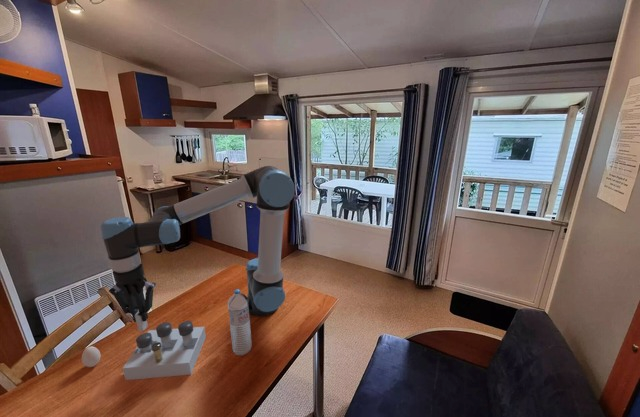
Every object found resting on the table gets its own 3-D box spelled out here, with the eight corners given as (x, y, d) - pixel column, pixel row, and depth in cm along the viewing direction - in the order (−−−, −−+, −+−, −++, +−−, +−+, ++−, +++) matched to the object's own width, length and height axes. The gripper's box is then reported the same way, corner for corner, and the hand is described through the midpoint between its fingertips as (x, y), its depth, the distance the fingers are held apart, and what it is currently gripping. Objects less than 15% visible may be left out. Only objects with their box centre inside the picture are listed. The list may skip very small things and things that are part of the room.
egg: (85, 363, 88) (79, 346, 86) (103, 357, 91) (98, 340, 89) (83, 373, 85) (77, 356, 82) (102, 366, 87) (96, 349, 85)
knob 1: (157, 349, 93) (153, 332, 90) (151, 359, 88) (147, 342, 86) (144, 350, 92) (140, 333, 90) (137, 360, 88) (133, 343, 86)
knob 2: (196, 337, 93) (194, 320, 91) (192, 347, 89) (189, 329, 87) (184, 338, 92) (181, 321, 90) (179, 348, 88) (175, 330, 86)
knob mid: (176, 338, 92) (173, 321, 90) (171, 348, 88) (167, 331, 86) (163, 339, 92) (159, 322, 90) (157, 349, 88) (153, 332, 85)
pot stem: (165, 356, 86) (162, 341, 84) (161, 363, 83) (158, 348, 81) (156, 357, 85) (153, 342, 84) (152, 363, 83) (149, 349, 81)
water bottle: (234, 359, 91) (228, 299, 83) (231, 345, 97) (225, 287, 89) (253, 352, 94) (249, 293, 87) (249, 339, 100) (245, 282, 92)
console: (205, 337, 100) (204, 326, 99) (191, 374, 85) (189, 362, 84) (150, 341, 98) (148, 330, 96) (125, 380, 83) (122, 368, 81)
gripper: (155, 259, 84) (168, 318, 91) (112, 261, 83) (129, 321, 90) (143, 271, 77) (158, 335, 84) (96, 274, 76) (115, 338, 83)
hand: (143, 328), depth 87 cm, fingers closed
